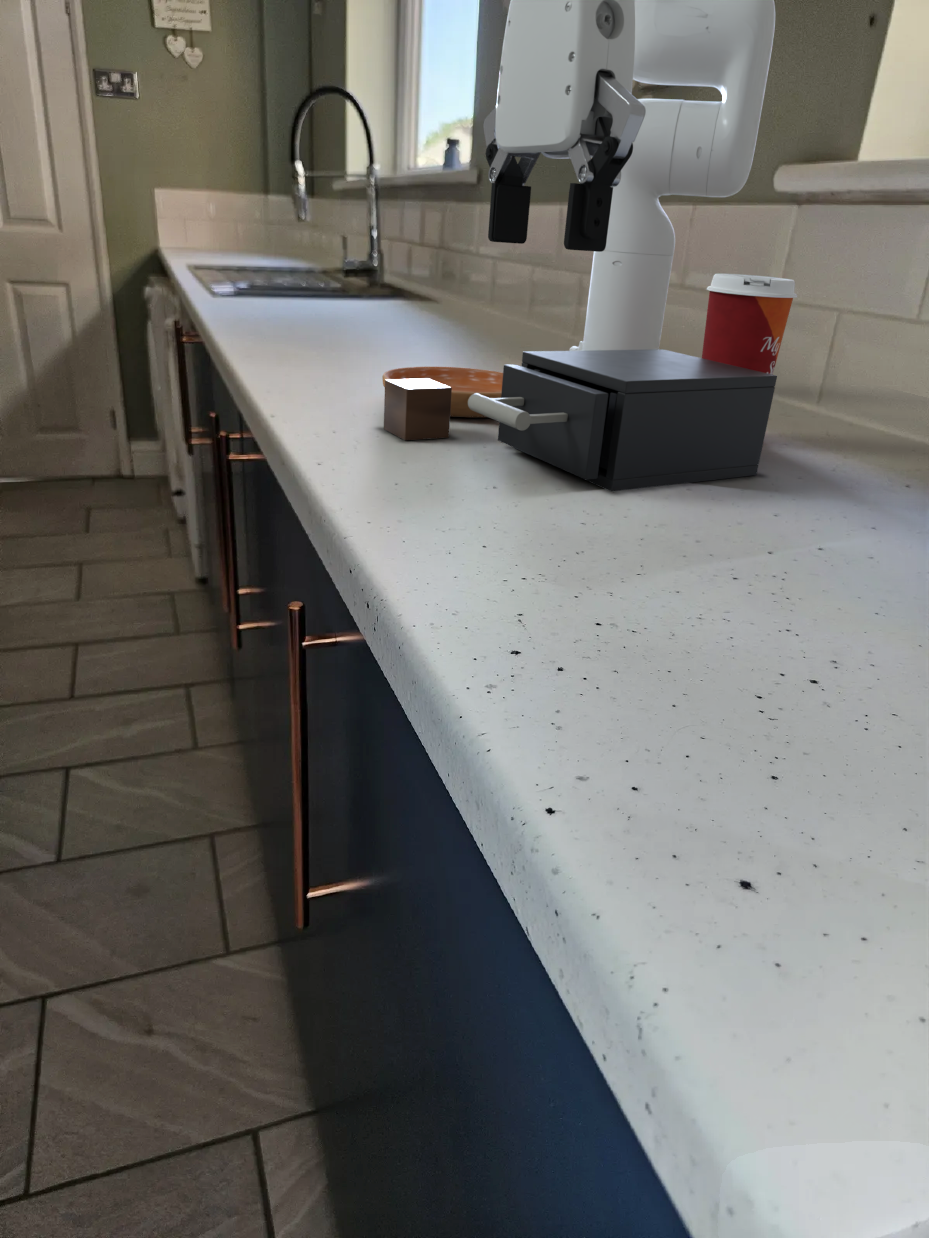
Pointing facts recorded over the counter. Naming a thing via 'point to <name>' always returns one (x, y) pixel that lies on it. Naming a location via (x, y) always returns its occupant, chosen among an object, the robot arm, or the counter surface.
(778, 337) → the coffee cup
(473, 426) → the counter surface
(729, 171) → the robot arm
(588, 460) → the drawer
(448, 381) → the saucer
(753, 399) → the dark grey drawer cabinet
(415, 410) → the block
